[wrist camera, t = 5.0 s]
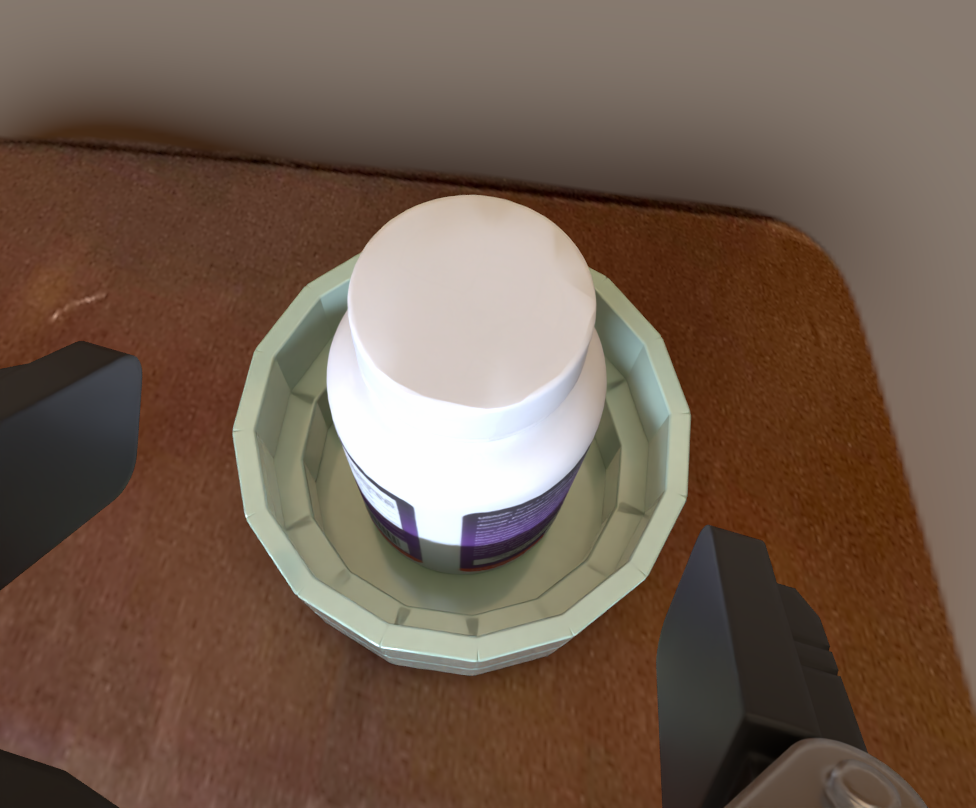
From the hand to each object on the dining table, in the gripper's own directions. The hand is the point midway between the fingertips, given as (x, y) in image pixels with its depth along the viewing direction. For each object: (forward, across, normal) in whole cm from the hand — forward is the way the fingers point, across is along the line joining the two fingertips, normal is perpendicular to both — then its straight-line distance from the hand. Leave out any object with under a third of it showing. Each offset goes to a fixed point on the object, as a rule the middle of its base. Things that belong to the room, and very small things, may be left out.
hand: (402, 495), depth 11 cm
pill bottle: (+10, 0, +5) cm, 11 cm away
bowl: (+10, 0, +5) cm, 11 cm away
